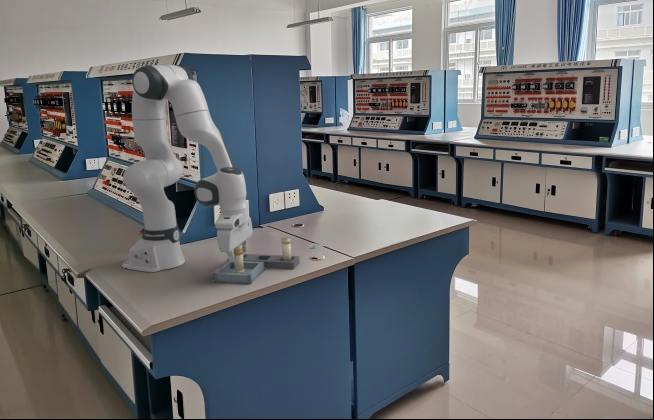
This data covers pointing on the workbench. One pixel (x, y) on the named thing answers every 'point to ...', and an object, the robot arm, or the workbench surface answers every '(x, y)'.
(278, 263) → the fuse holder
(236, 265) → the marked fuse
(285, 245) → the right fuse
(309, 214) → the workbench surface
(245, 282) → the parts tray
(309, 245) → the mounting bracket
